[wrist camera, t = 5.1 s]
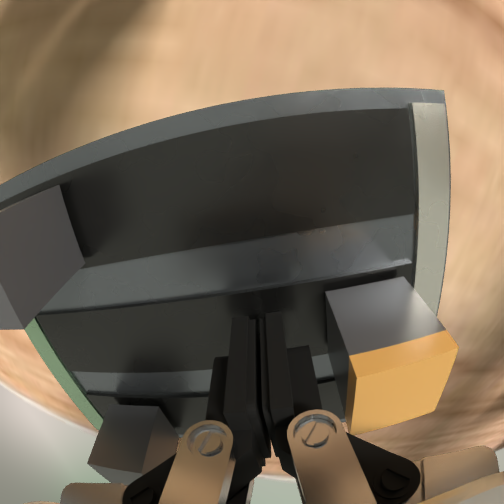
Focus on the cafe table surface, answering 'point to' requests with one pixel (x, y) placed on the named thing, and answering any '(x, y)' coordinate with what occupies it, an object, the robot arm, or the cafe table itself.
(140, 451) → the breaker far
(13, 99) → the cafe table surface
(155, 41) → the cafe table surface
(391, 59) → the cafe table surface
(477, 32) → the cafe table surface
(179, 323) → the panel
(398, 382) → the block
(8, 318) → the block
